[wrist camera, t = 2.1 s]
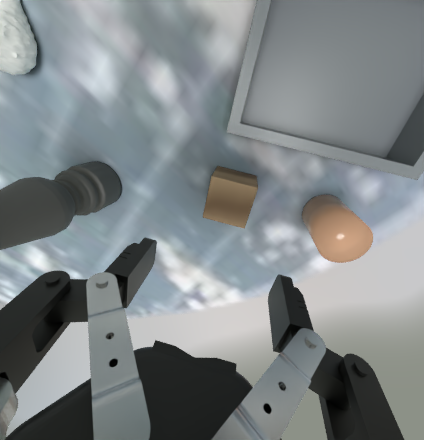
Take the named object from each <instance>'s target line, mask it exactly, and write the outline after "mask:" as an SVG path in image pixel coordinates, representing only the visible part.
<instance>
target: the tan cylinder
mask: <svg viewBox="0 0 424 440" xmlns="http://www.w3.org/2000/svg"><path fill="white" fill-rule="evenodd" d="M302 219H303V221H304V223H305V225H306V227H307V229H308V231H309V233H310V235H311V237H312V239H313V241H314V243H315V245H316V247H317V249H318V251H319V253H320V254H321V255H322V256H323V257H324V258H325V259H327V260H329V261H332V262H338V263H343V262H350V261H353V260H356V259H358V258H360V257H361V256H363V255H364V254H365V253H366V252H367V251H368V250H369V248H370V247H371V245H372V242H373V234H372V231H371V229H370V228H369V227H368V226H367V225H366V224H365V223H364V222H363V221H362V220H361V219H360V218H359V217H358V216H357V215H356V214H355V213H354V212H353V211H351V210H350V209H349V208H348V207H347V206H346V205H345V204H344V203H343V202H342V201H341V200H340V199H339V198H337V197H335V196H333V195H327V194H326V195H319V196H316V197H314V198H312V199H311V200H310V201H308V202H307V203H306V205H305V206H304V208H303V211H302Z"/></svg>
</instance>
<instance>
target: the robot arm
mask: <svg viewBox="0 0 424 440" xmlns="http://www.w3.org/2000/svg"><path fill="white" fill-rule="evenodd" d="M156 244H157V241H156V240H152V239H149V238H144V239H143V240H142V241H141V242H140V244H137V243H133V244H131V245H129V246H127V247H126V249H125V250H124V251H123V252H122V253H121V254H120V255H119V257H117V258H116V260H115V261H114V262H113V263H112V264H111V265H110V266H109V267H108V268H107V269H106V270H105V272H102V273H97V274H95V275H93V276H91V277H90V278H89V279H85V280H81V279H70V276H69V274H68V273H66V272H64V271H51V272H48V273H45V274H43V275H41V276H40V277H39V278H37V279H36V280H35V281H34V282H33V283H32V284H30V285H29V286H28V287H27V288H26V289H25V290H23V291H22V292H21V293H20V294H19V295H18V296H16V297H15V298H14V299H13V300H12V301H10V302H9V303H8V304H7V305H6V306H5V307H4V308H2V309H1V310H0V440H282V439H281V437H282V435H283V433H284V431H285V429H286V428H287V426H288V424H289V422H290V420H291V418H292V416H293V415H294V413H295V411H296V409H297V407H298V405H299V403H300V402H301V400H302V398H303V396H304V394H305V393H306V391H307V389H308V388H309V389H311V390H312V391H314V392H315V393H317V394H318V395H319V399H320V404H321V409H322V414H323V419H324V424H325V429H326V433H327V439H328V440H404V438H403V436H402V434H401V431H400V429H399V427H398V425H397V422H396V420H395V418H394V415H393V413H392V411H391V409H390V406H389V404H388V402H387V399H386V397H385V395H384V393H383V391H382V388H381V386H380V384H379V382H378V379H377V377H376V375H375V373H374V371H373V369H372V368H371V367H370V366H369V364H368V363H367V362H366V361H364V360H363V359H362V358H360V357H359V356H357V355H354V354H346V355H345V356H344V357H341V356H339V355H338V354H336V353H334V352H332V351H331V350H329V349H328V348H326V346H325V343H324V341H323V340H322V338H321V337H320V336H319V335H318V334H317V333H315V332H314V330H313V327H312V324H311V320H310V317H309V314H308V310H307V307H306V304H305V301H304V298H303V295H302V294H301V292H300V291H299V289H298V288H296V287H294V286H293V282H292V279H291V278H290V277H286V276H283V275H278V276H277V277H276V280H275V282H274V284H273V286H272V288H271V290H270V292H269V296H268V305H269V315H270V324H271V333H272V343H273V351H275V352H278V353H280V354H279V355H278V357H277V358H276V359H275V360H274V362H273V363H272V364H271V365H270V367H269V368H268V369H267V371H266V372H265V373H264V374H263V376H262V377H261V378H260V379H259V381H258V382H257V383H256V384H255V386H254V387H252V386H251V385H250V383H249V382H248V381H247V380H246V379H245V378H244V377H243V376H242V375H240V374H239V373H238V372H236V364H235V363H232V362H228V361H225V360H222V359H218V358H195V357H192V356H191V355H189V354H187V353H186V352H184V351H183V350H181V349H179V348H177V347H176V346H173V345H170V344H166V343H163V342H160V341H155V343H154V346H153V347H145V348H140V349H137V350H134V351H133V346H132V342H131V336H130V332H129V327H128V322H127V317H126V313H125V309H124V308H127V307H128V305H129V304H130V302H131V301H132V299H133V297H134V296H135V294H136V293H137V291H138V289H139V288H140V286H141V285H142V283H143V281H144V280H145V278H146V277H147V275H148V273H149V272H150V270H151V269H152V267H153V264H154V261H155V253H156ZM70 322H88V331H89V349H90V370H91V378H90V379H89V380H87V381H86V382H84V383H83V384H81V385H80V386H78V387H77V388H75V389H74V390H72V391H71V392H69V393H68V394H66V395H65V396H63V397H62V398H60V399H59V400H57V401H56V402H54V403H53V404H51V405H50V406H48V407H47V408H45V409H44V410H42V411H41V412H39V413H38V414H36V415H35V416H33V417H32V418H30V419H28V420H27V421H25V422H24V423H23V424H21V425H20V426H19V427H17V428H16V429H15V430H14V431H13V432H12V433H11V434H10V435H8V437H6V432H7V428H8V426H9V423H10V421H11V420H12V418H13V417H14V415H15V413H16V411H17V407H18V399H17V397H16V392H17V391H18V390H19V388H20V387H21V386H22V385H23V383H24V382H25V381H26V379H27V378H28V377H29V376H30V374H31V373H32V372H33V370H34V369H35V368H36V366H37V365H38V364H39V363H40V361H41V360H42V359H43V357H44V356H45V355H46V353H47V352H48V351H49V350H50V348H51V347H52V346H53V344H54V343H55V342H56V340H57V339H58V338H59V337H60V335H61V334H62V333H63V331H64V330H65V329H66V328H67V326H68V325H69V324H70Z"/></svg>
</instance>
